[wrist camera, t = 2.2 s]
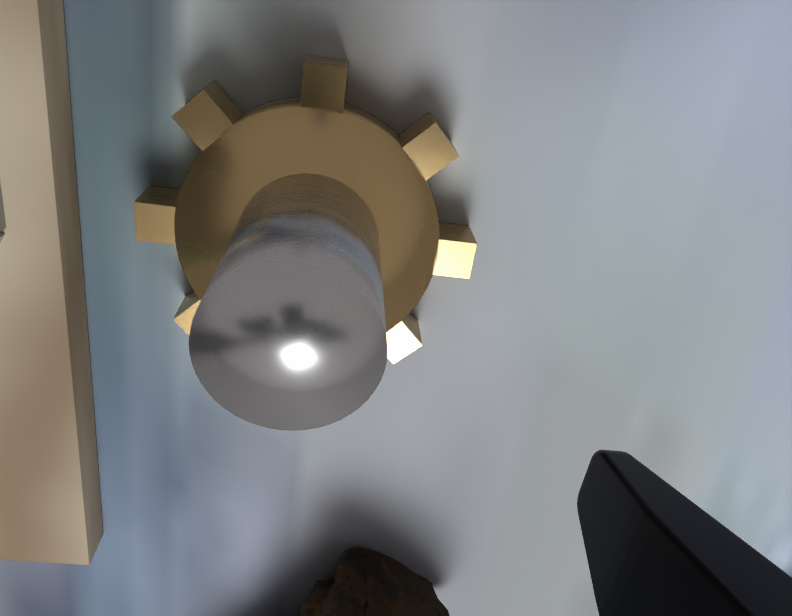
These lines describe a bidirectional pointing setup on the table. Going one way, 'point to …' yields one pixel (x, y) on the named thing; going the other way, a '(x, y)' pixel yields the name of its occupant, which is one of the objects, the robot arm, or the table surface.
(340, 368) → the bronze gear
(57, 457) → the gear board
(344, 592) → the hand tool
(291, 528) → the table surface
